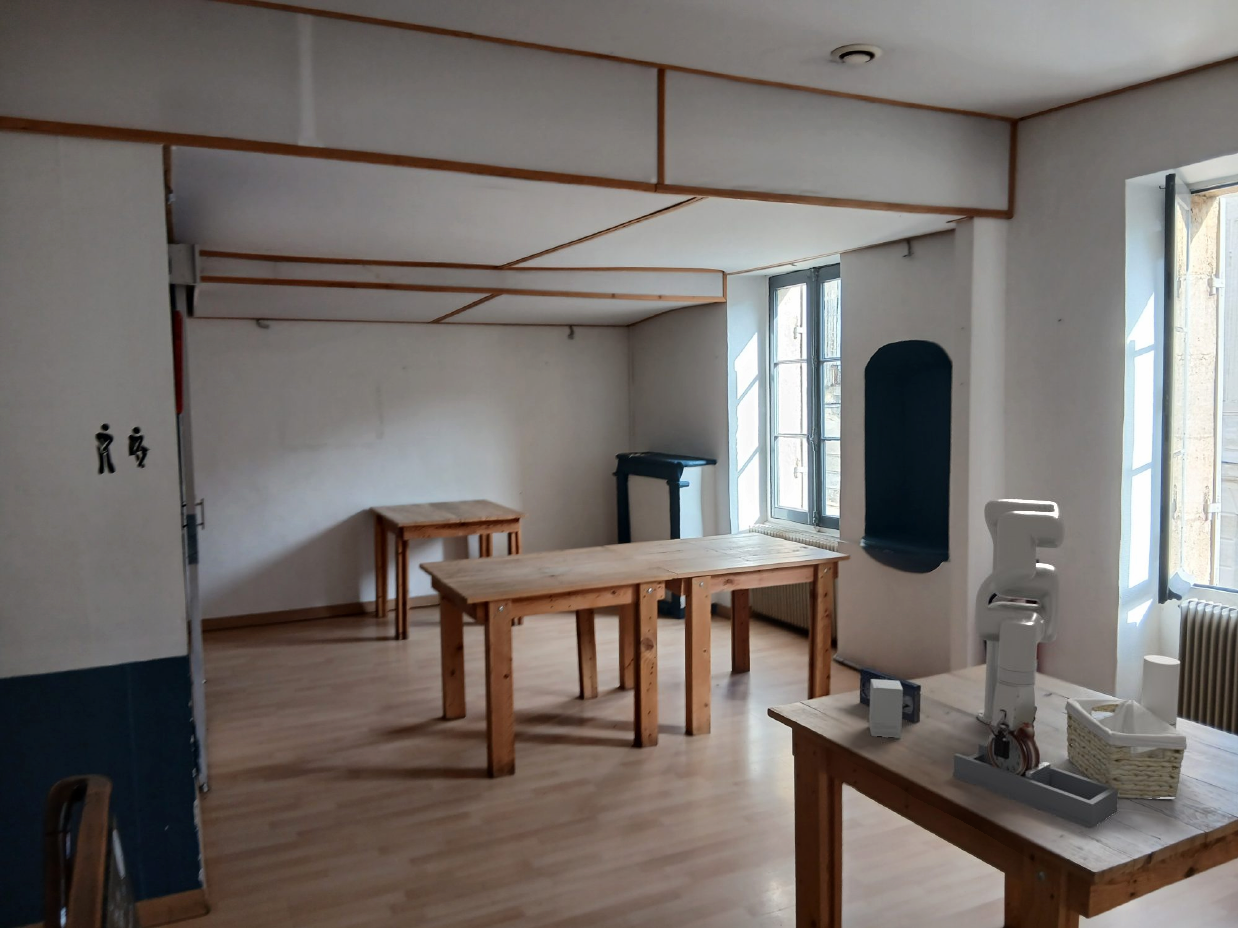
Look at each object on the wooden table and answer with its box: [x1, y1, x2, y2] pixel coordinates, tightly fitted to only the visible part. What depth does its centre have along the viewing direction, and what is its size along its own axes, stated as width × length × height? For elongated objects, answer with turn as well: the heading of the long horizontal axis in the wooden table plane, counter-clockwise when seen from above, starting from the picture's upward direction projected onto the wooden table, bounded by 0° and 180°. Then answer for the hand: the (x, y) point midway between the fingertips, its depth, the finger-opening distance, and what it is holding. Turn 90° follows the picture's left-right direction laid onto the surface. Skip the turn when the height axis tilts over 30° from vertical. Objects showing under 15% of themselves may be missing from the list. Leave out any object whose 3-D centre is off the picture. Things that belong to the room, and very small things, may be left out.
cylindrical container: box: [1140, 654, 1181, 730], centre depth 205 cm, size 7×7×25 cm
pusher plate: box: [1026, 761, 1051, 786], centre depth 189 cm, size 8×1×5 cm, turn 128°
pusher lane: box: [952, 742, 1119, 830], centre depth 190 cm, size 12×30×5 cm, turn 38°
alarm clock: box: [986, 721, 1041, 777], centre depth 194 cm, size 11×5×15 cm, turn 26°
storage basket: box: [1064, 697, 1188, 799], centre depth 198 cm, size 24×16×15 cm
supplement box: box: [868, 679, 903, 739], centre depth 224 cm, size 7×7×13 cm
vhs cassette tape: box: [859, 667, 922, 724], centre depth 238 cm, size 18×3×10 cm, turn 33°
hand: (1013, 751), depth 193 cm, fingers open, 9 cm apart
